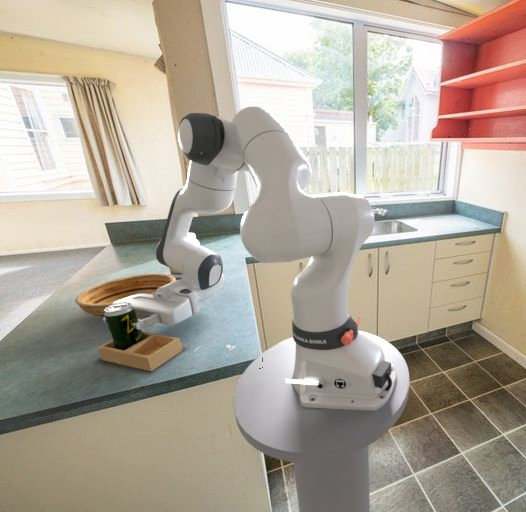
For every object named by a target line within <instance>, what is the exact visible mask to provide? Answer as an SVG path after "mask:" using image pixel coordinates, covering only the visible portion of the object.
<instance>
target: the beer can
mask: <svg viewBox="0 0 526 512" xmlns="http://www.w3.org/2000/svg"><path fill="white" fill-rule="evenodd" d="M104 311H105V314H104V315H105V318H106V321H107V327H108V330H109V333H110V336H111V339H112V340H113V342H114V345H115V348H116V349H119V350H126V349H128V348H130V347H132V346H133V345H135V344H137V343H139V342H141V341H142V340H143V336H142V333H141V331H142V329H140V330H138V329H134V328H133V322H135V321H137V320H139V319H137V316H136V312H135V309H134V307H133V306H132V304H131V303H130V302H122V303H117V304H114V305H111V306H109V307H107V308H106V309H105V310H104Z"/></svg>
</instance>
